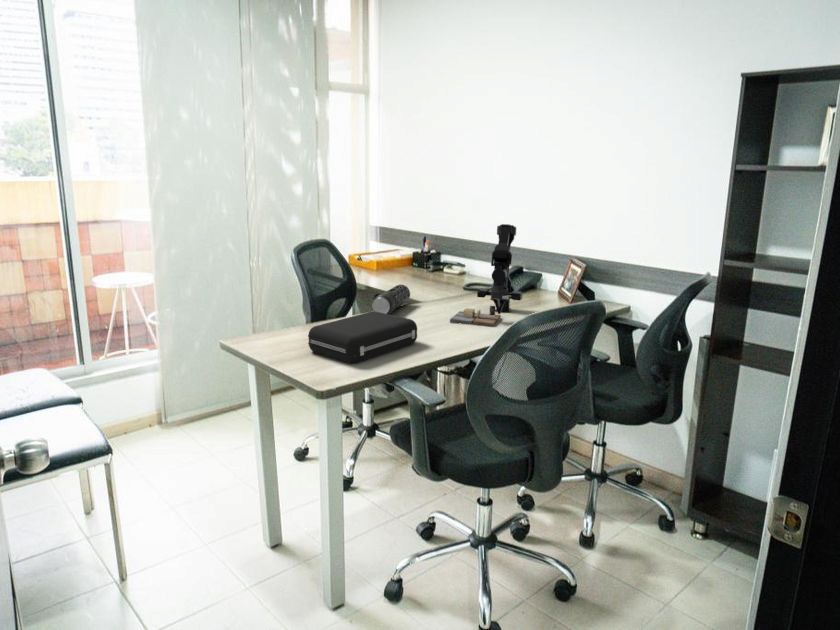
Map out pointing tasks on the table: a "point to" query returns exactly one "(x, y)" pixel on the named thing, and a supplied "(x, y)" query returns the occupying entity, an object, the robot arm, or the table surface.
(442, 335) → the table surface
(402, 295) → the dark grey textured cylinder
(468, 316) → the brass keeper
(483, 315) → the steel bolt
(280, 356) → the table surface
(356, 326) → the briefcase
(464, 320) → the board
